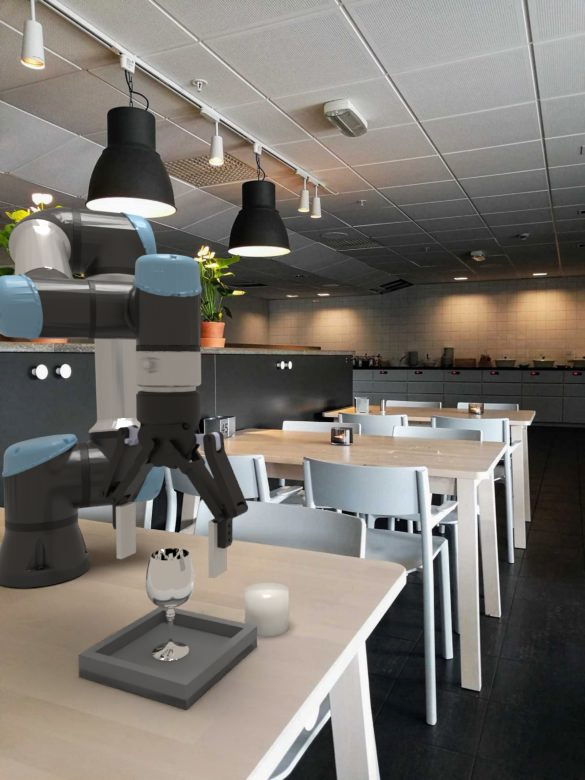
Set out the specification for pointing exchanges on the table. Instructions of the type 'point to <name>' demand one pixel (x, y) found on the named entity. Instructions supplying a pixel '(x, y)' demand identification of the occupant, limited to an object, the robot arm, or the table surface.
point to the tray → (169, 678)
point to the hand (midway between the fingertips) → (170, 564)
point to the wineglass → (170, 593)
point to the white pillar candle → (267, 608)
